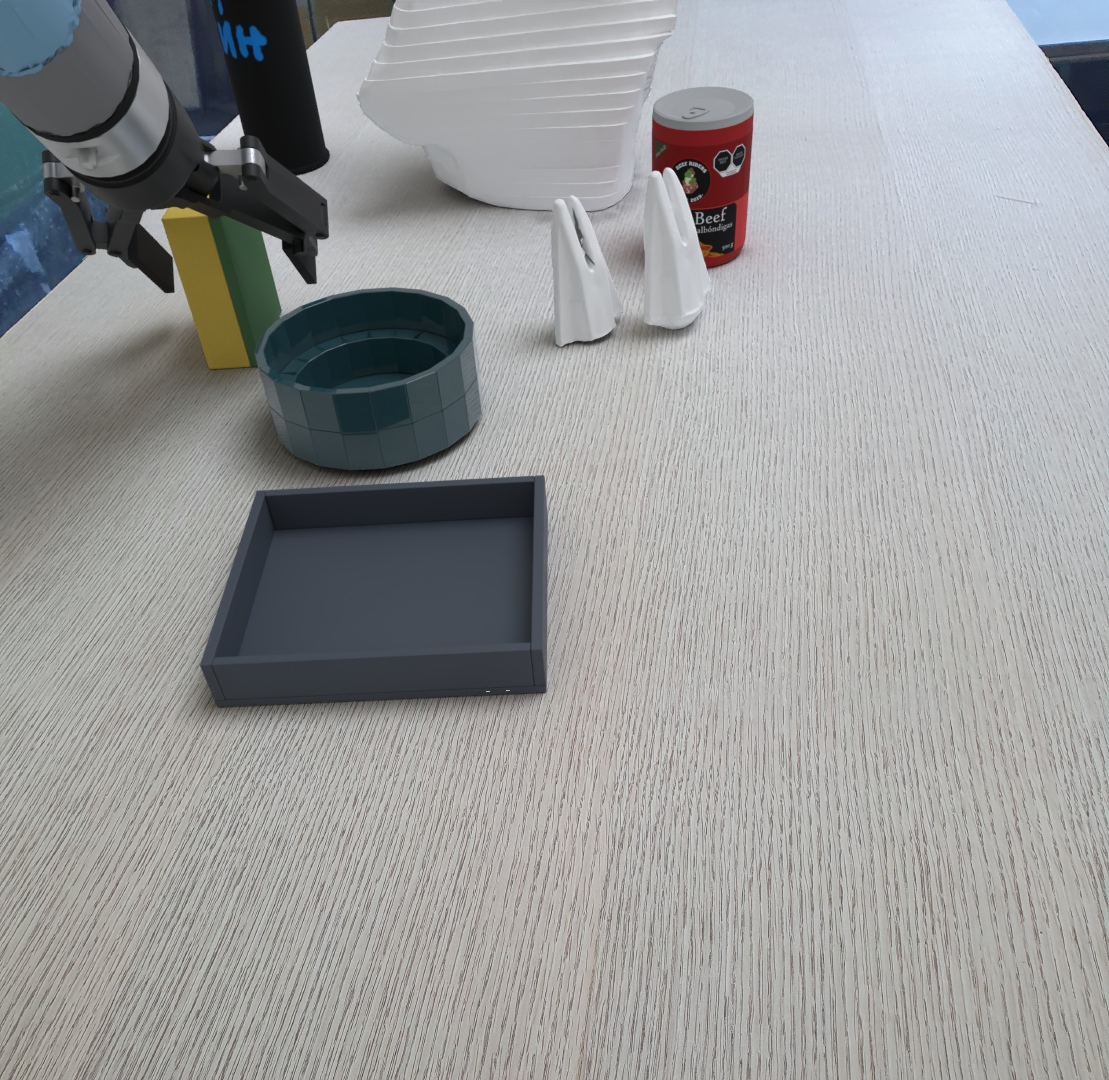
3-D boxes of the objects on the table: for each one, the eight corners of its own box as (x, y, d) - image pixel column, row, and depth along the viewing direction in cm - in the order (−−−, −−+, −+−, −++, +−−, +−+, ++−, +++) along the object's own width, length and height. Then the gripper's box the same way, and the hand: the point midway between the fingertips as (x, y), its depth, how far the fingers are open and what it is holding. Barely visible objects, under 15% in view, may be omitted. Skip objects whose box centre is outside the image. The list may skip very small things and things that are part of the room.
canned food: (640, 266, 88) (640, 118, 80) (665, 226, 93) (667, 83, 85) (733, 274, 86) (742, 123, 78) (753, 232, 91) (764, 87, 83)
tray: (216, 707, 56) (199, 665, 54) (269, 531, 66) (256, 490, 64) (546, 692, 55) (542, 649, 53) (547, 516, 66) (544, 474, 63)
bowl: (261, 483, 70) (235, 399, 66) (296, 373, 80) (276, 294, 75) (478, 471, 69) (467, 386, 65) (487, 362, 79) (478, 281, 75)
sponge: (209, 369, 81) (160, 218, 73) (233, 313, 87) (191, 168, 79) (261, 366, 81) (218, 214, 73) (282, 310, 87) (244, 165, 79)
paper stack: (672, 215, 95) (679, -162, 76) (373, 223, 98) (308, -138, 79) (677, 130, 109) (683, -206, 90) (415, 139, 112) (369, -184, 93)
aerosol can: (303, 140, 114) (252, -96, 99) (345, 159, 109) (298, -85, 95) (235, 163, 111) (171, -78, 96) (275, 183, 106) (215, -66, 91)
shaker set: (709, 308, 83) (715, 152, 75) (717, 334, 80) (725, 175, 72) (553, 321, 83) (542, 167, 75) (556, 348, 80) (545, 191, 72)
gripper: (-85, 196, 62) (96, 329, 84) (312, 169, 61) (390, 310, 83) (-94, 62, 61) (91, 230, 83) (305, 33, 60) (385, 211, 82)
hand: (239, 270), depth 83 cm, fingers open, 10 cm apart
